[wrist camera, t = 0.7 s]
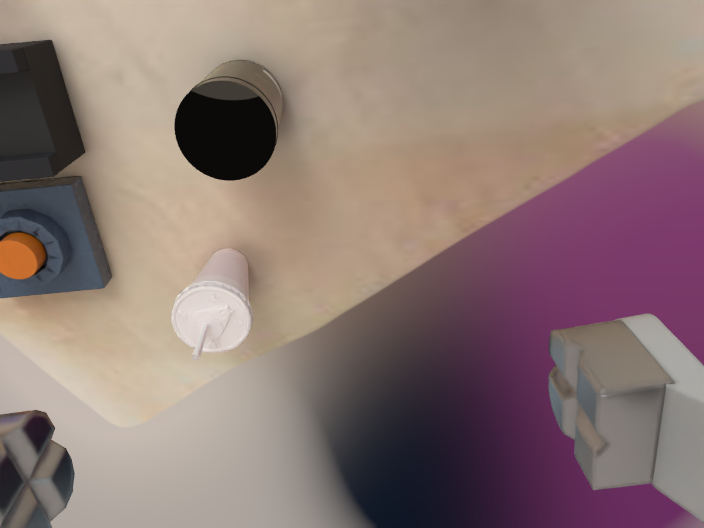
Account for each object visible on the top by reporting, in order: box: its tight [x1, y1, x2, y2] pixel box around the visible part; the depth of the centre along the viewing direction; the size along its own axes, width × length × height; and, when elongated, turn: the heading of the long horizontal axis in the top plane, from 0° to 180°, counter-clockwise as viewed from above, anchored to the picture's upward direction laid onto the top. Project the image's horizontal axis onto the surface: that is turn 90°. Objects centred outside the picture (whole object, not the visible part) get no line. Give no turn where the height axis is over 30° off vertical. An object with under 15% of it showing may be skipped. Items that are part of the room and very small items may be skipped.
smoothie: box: [171, 248, 253, 360], centre depth 48 cm, size 6×6×14 cm
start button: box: [0, 232, 46, 279], centre depth 48 cm, size 4×4×2 cm
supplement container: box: [175, 60, 284, 180], centre depth 43 cm, size 7×7×10 cm
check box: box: [0, 176, 112, 298], centre depth 50 cm, size 10×10×4 cm
